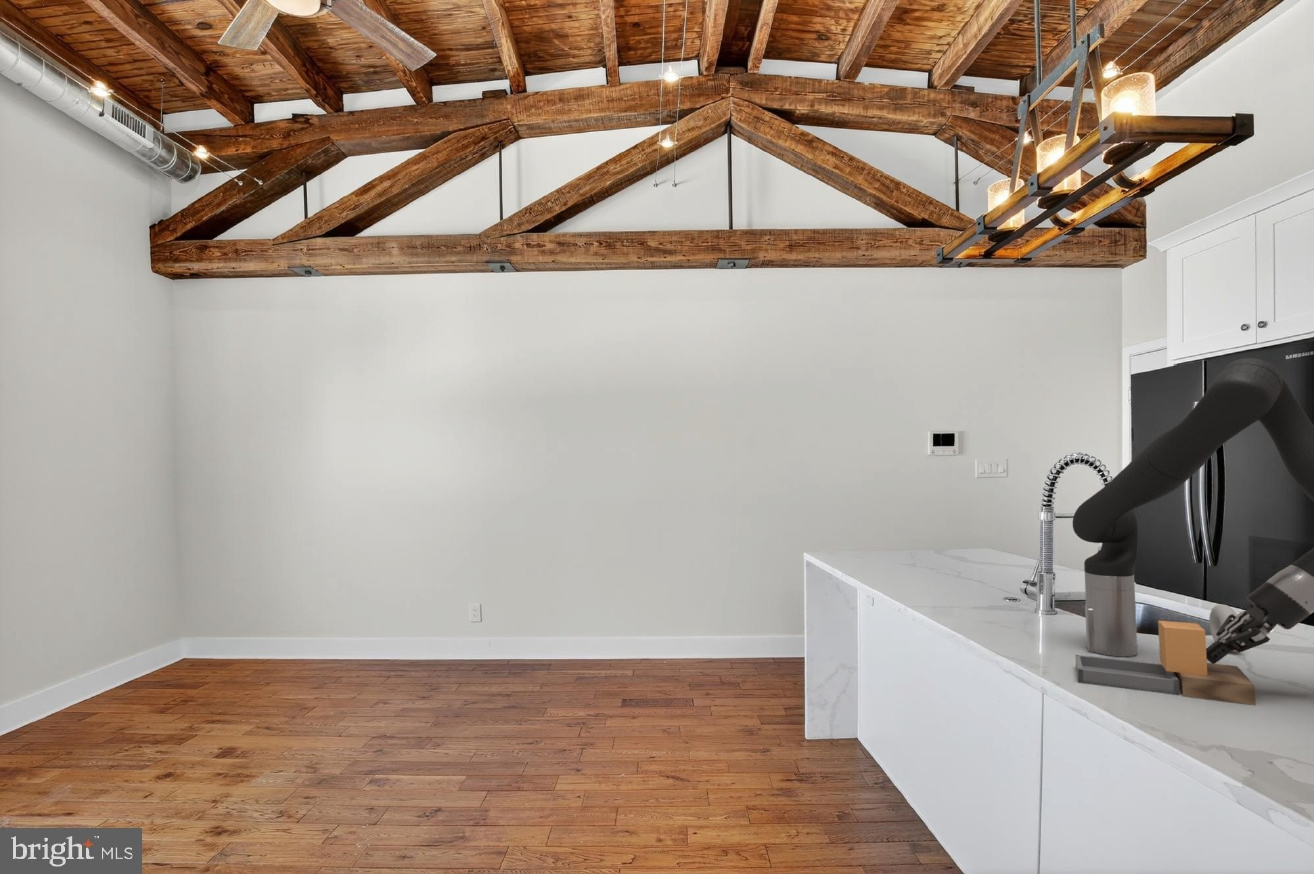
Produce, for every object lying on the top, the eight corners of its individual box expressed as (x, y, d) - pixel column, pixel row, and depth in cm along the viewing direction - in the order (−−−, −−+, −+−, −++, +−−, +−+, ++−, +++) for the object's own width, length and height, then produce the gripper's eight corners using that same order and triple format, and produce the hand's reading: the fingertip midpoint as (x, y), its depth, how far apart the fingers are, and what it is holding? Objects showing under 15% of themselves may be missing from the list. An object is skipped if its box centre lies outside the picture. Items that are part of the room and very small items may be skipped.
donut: (1207, 643, 155) (1205, 599, 156) (1226, 644, 154) (1224, 600, 154) (1225, 655, 146) (1223, 608, 146) (1245, 656, 145) (1243, 609, 145)
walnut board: (1183, 696, 122) (1182, 676, 122) (1171, 677, 132) (1171, 659, 132) (1255, 705, 117) (1254, 684, 117) (1237, 684, 127) (1237, 665, 127)
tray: (1078, 682, 130) (1078, 669, 130) (1075, 666, 140) (1075, 654, 140) (1179, 694, 122) (1179, 680, 122) (1169, 677, 132) (1169, 664, 132)
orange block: (1166, 671, 125) (1164, 627, 125) (1160, 662, 130) (1158, 620, 131) (1207, 675, 122) (1205, 630, 123) (1199, 666, 128) (1197, 623, 128)
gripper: (1327, 621, 113) (1238, 686, 118) (1292, 605, 125) (1212, 664, 130) (1285, 587, 115) (1199, 652, 120) (1254, 574, 127) (1177, 634, 132)
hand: (1206, 658), depth 125 cm, fingers closed
